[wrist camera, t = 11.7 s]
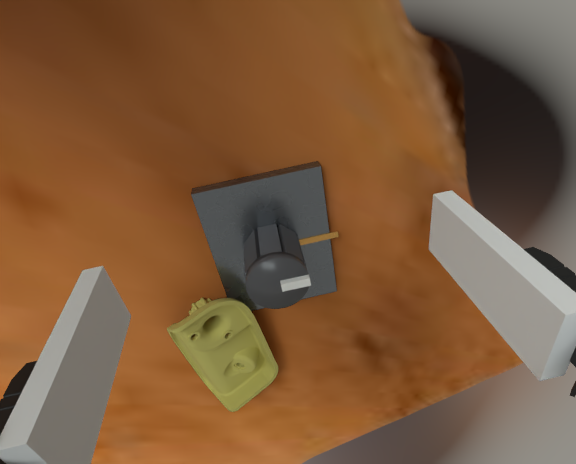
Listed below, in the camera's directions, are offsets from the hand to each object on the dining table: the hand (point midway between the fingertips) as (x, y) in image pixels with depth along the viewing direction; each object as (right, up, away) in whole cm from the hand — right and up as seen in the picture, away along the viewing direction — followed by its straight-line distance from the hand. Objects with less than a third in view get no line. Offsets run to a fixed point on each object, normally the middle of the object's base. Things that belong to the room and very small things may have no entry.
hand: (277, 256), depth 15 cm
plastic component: (-9, -13, +37) cm, 40 cm away
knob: (-1, -1, +28) cm, 29 cm away
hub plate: (-2, 0, +30) cm, 30 cm away
